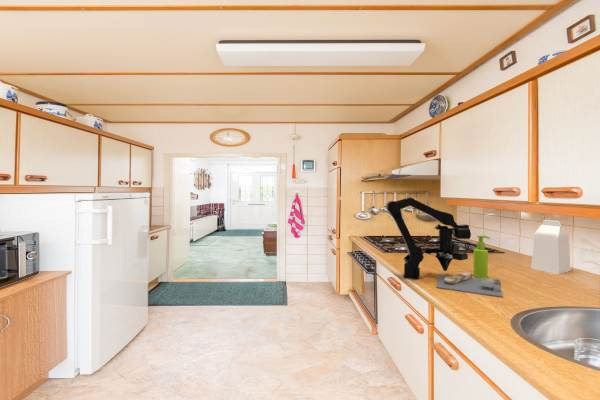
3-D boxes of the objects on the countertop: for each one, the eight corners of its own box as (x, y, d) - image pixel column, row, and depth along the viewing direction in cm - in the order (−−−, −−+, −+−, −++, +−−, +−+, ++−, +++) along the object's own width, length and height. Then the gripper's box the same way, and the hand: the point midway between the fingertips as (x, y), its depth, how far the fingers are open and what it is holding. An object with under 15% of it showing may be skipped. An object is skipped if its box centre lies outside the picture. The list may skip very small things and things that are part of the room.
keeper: (481, 290, 122) (481, 280, 122) (480, 286, 127) (481, 277, 127) (500, 293, 119) (500, 282, 119) (499, 289, 124) (499, 279, 123)
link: (451, 285, 128) (451, 278, 127) (442, 282, 131) (442, 276, 131) (473, 278, 136) (473, 272, 136) (464, 276, 140) (464, 270, 140)
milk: (531, 268, 154) (531, 219, 153) (543, 265, 159) (543, 218, 158) (558, 274, 144) (559, 222, 143) (570, 271, 148) (571, 220, 147)
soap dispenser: (487, 279, 137) (488, 237, 136) (471, 276, 142) (472, 235, 141) (491, 276, 141) (492, 236, 140) (475, 273, 146) (476, 234, 145)
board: (436, 288, 126) (436, 286, 126) (440, 274, 145) (440, 273, 145) (503, 297, 114) (503, 296, 114) (497, 281, 133) (497, 280, 133)
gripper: (474, 239, 135) (474, 273, 136) (438, 234, 151) (438, 264, 152) (460, 242, 130) (460, 276, 130) (424, 236, 146) (424, 267, 146)
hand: (445, 270), depth 140 cm, fingers closed
